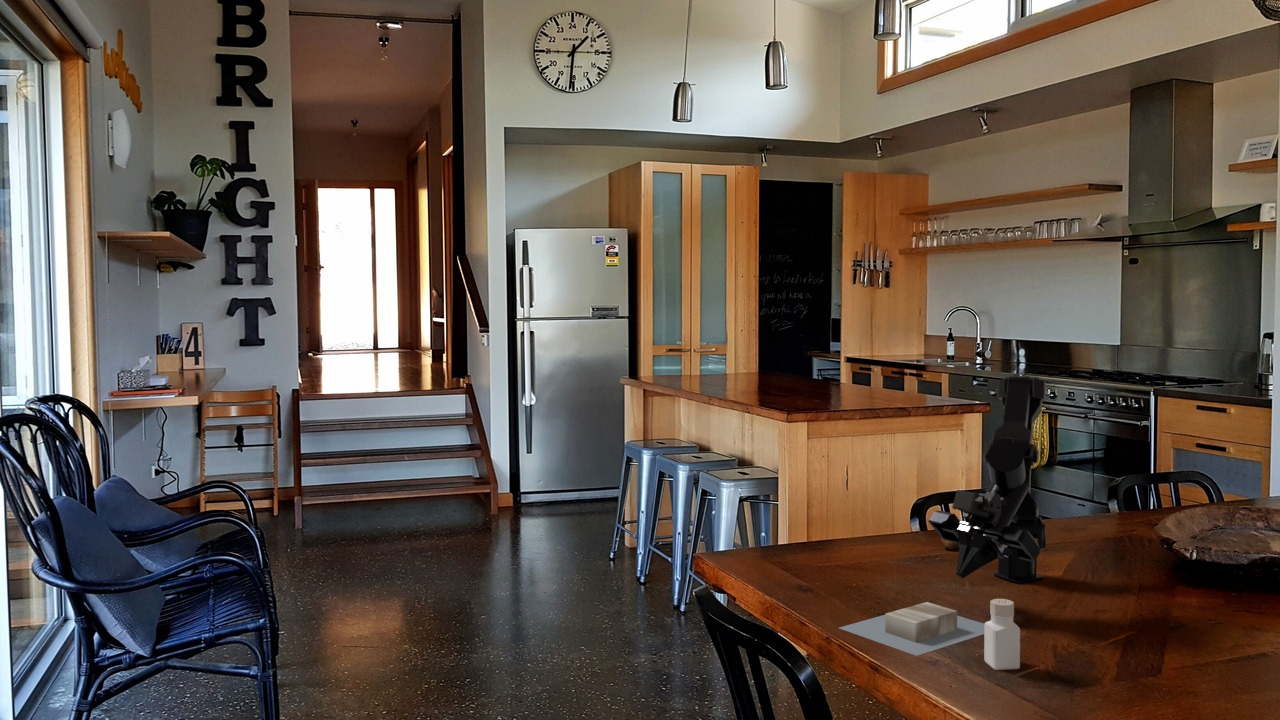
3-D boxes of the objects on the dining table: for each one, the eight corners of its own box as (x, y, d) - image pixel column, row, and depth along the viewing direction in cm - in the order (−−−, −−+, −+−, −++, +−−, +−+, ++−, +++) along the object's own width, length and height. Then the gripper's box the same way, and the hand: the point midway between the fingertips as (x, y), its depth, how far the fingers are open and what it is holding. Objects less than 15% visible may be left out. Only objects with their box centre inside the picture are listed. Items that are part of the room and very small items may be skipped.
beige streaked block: (927, 601, 167) (885, 613, 161) (957, 610, 162) (915, 623, 156) (927, 619, 167) (885, 632, 161) (957, 629, 162) (915, 642, 156)
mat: (920, 606, 175) (920, 604, 175) (1000, 630, 162) (1000, 628, 162) (838, 629, 164) (838, 627, 164) (916, 657, 150) (916, 655, 150)
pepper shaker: (982, 662, 148) (982, 598, 148) (1009, 660, 149) (1009, 597, 148) (994, 672, 144) (994, 606, 144) (1021, 670, 145) (1021, 605, 144)
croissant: (964, 554, 210) (965, 530, 210) (932, 550, 214) (932, 526, 213) (981, 540, 221) (981, 517, 221) (949, 536, 225) (950, 514, 225)
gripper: (935, 464, 176) (891, 537, 171) (1029, 480, 161) (984, 560, 155) (964, 502, 181) (923, 574, 176) (1058, 521, 166) (1016, 601, 160)
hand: (959, 576), depth 167 cm, fingers closed
